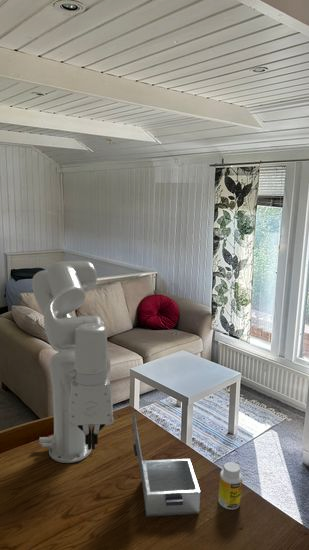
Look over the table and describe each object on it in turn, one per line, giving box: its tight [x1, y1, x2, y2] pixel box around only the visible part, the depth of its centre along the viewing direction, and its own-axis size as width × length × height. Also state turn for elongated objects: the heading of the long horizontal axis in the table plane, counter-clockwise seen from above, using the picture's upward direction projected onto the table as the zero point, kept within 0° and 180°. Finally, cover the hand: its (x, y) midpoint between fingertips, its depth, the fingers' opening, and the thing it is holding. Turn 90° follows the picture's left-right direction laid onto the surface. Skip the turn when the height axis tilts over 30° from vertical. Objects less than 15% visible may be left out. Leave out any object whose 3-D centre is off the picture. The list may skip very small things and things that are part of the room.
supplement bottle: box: [217, 461, 243, 510], centre depth 104 cm, size 6×6×10 cm
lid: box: [131, 410, 147, 495], centre depth 103 cm, size 15×13×2 cm
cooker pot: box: [142, 458, 201, 518], centre depth 106 cm, size 13×16×6 cm
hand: (91, 446), depth 101 cm, fingers closed
